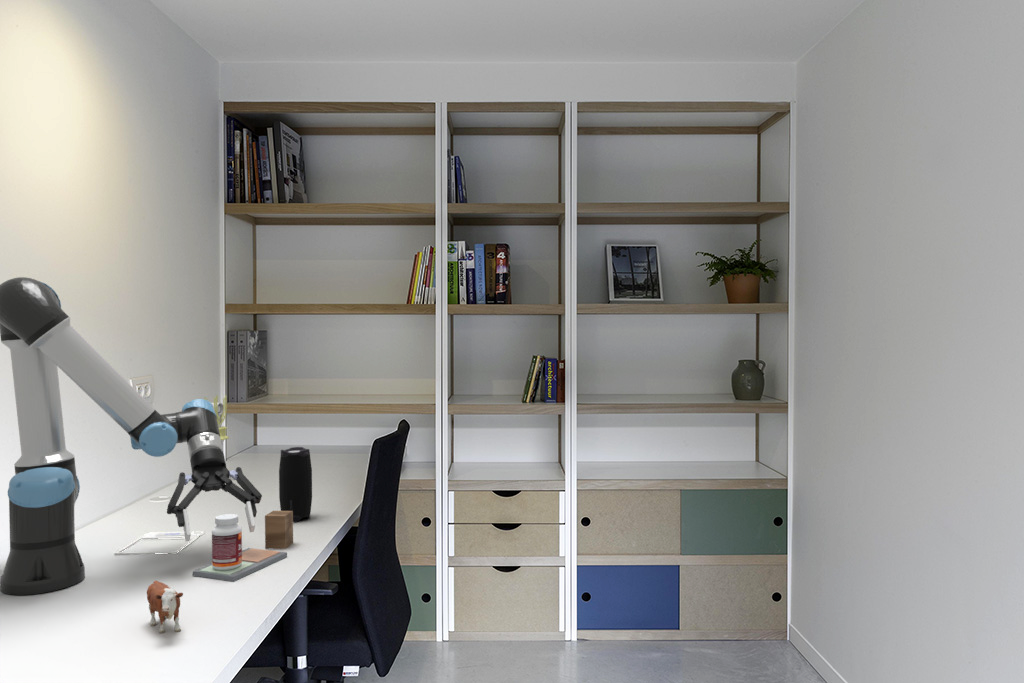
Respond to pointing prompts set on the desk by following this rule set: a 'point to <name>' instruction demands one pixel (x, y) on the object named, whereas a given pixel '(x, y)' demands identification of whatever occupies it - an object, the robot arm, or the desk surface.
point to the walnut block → (279, 529)
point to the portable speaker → (295, 482)
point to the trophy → (220, 416)
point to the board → (243, 565)
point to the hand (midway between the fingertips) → (221, 533)
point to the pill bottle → (226, 542)
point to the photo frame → (155, 536)
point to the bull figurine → (163, 604)
